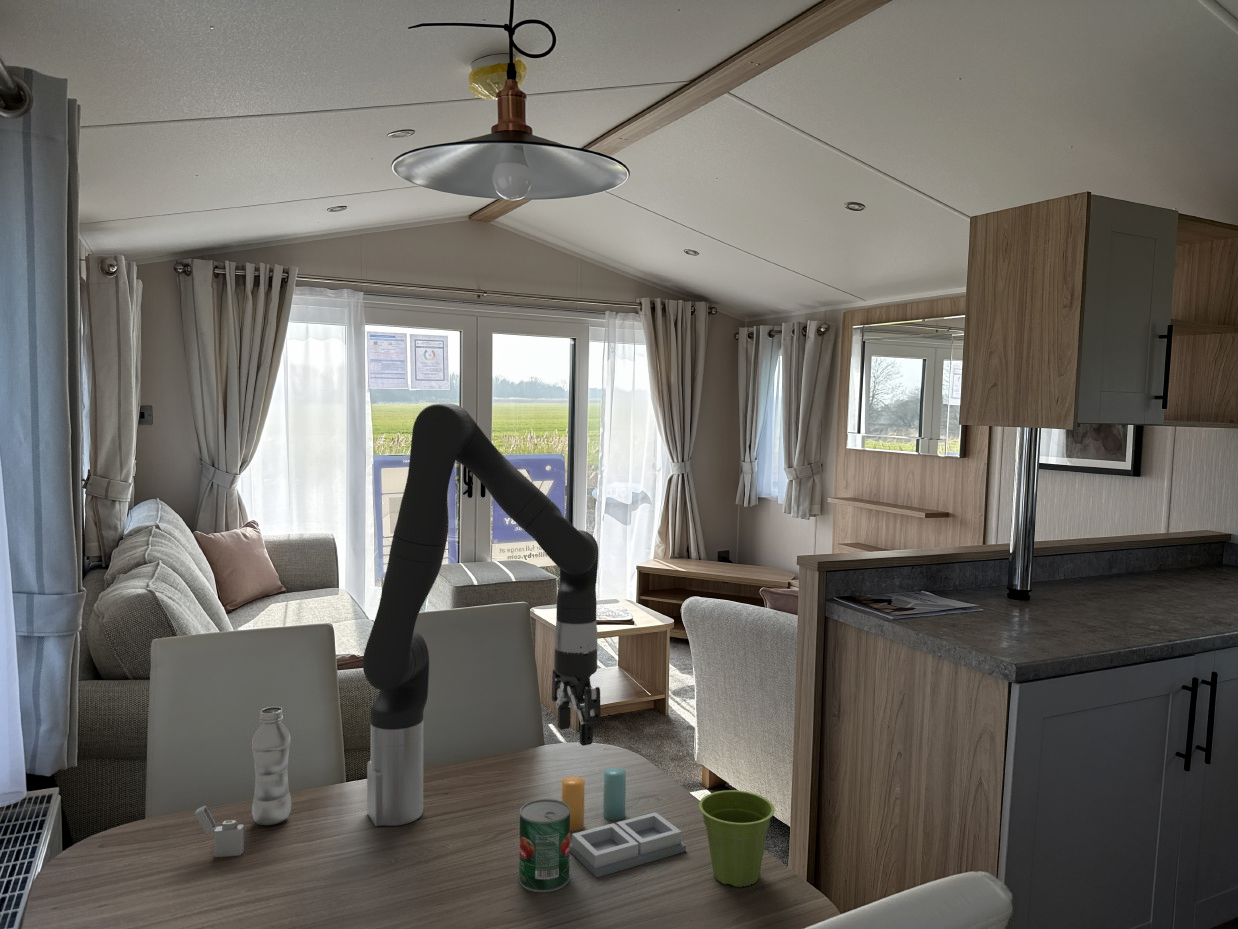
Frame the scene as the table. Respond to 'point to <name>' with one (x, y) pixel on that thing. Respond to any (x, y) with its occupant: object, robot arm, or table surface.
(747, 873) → the plant pot
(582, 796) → the orange pin
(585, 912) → the table surface
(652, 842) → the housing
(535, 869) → the canned tomato
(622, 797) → the teal pin
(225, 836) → the lighter
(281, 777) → the plastic bottle
